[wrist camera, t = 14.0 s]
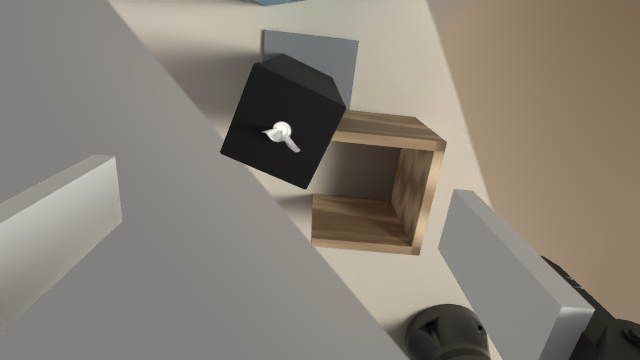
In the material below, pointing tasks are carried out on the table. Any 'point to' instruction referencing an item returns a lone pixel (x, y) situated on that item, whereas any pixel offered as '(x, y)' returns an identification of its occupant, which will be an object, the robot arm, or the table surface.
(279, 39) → the pad
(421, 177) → the holder
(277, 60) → the black tall block
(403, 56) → the table surface
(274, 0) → the gum box
